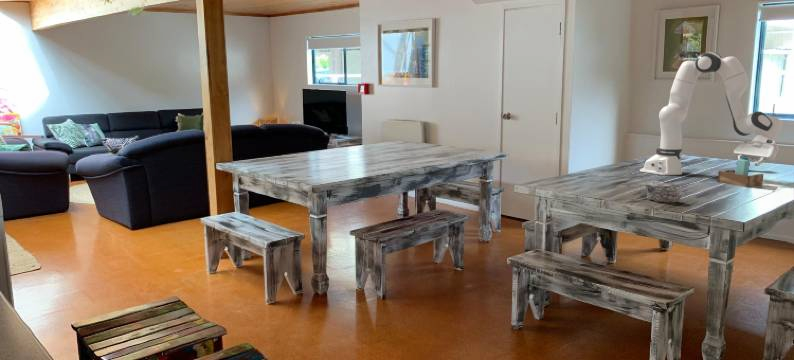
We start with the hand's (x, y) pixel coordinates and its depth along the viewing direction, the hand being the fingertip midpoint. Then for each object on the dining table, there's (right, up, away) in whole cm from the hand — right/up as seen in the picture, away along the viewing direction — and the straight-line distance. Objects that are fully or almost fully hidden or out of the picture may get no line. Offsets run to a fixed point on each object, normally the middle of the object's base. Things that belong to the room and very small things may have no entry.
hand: (747, 163), depth 322 cm
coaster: (+3, -13, -11) cm, 17 cm away
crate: (-4, -11, 0) cm, 11 cm away
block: (-3, -10, 0) cm, 11 cm away
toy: (+22, -3, +43) cm, 49 cm away
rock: (-60, -18, -38) cm, 73 cm away
